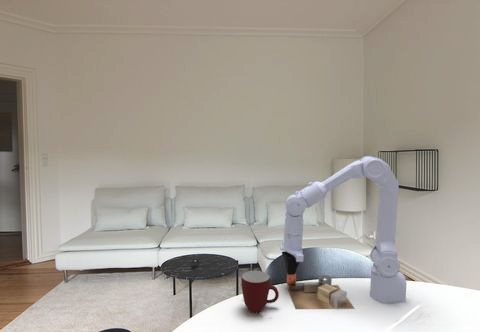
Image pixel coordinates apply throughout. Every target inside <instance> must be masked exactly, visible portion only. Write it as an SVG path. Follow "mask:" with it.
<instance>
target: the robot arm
mask: <svg viewBox="0 0 480 332" xmlns="http://www.w3.org/2000/svg"><path fill="white" fill-rule="evenodd" d="M364 177H366V179H369V180H370V181H372V182H373V183H374V184H375V185H376V186H377V187H378V188H379V193H378V194H379V195H378V207H377V209H378V210H377V224H376V225H377V227H376V239H374V242H373V247H372V249H371V251H370V254H369V257H370V259H371V262H372V263H373V264H372V266H371V268H370V286H369V287H370V288H369V297H370V298H371V299H372V300H374V301H375V302H379V303H381V304H395V303H406V301H407V300H406V298H407V280H406V276H405V274H404V273H403V272H402V271H400V269H401V263H400V262H399V259H398V250H397V247H396V230H397V229H396V228H397V215H398V214H397V213H398V200H399V198H398V197H399V181H398V180H397V178H396V176H395V174H394V173H393V171H392V169H391V166H390V165H389V164H388V163H386V162H385V161H384V160H383V159H381V158H379V157H373V156H371V155H365V156H363V157H361V158H360V159H357V160H355V161H353V162H351V163H349V164H348V165H346V166H345V167H343V168H342V169H340V170H339V171H337V172H336V173H334V174H333V175H331V176H330V177H328V178H327V179H325V180H324V181H322V182H321V181H314V182H313V181H310V182H308V185H307V186H305V187H304V188H303V189H300V190H299V191H298V190H296V191H295V194H291V195H289V196H288V197H287V199H286V201H285V210H286V212H285V219H284V226H283V227H284V228H283V229H284V230H283V239H282V245H279V250H280V251H281V254H282V257H283V260H284V263H285V264H284V265H285V270H286V275H287V274H288V275H289V274H295V273H296V274H297V270H298V267H299V264H300V263H304V257H305V256H304V254H303V231H304V212H305V210H306V209H307V208H308V209H309V208H311V207H313V206H314V205H315V204H318V203H319V202H322V200H324V199H326V198H327V196H328V192H329V191H331V190H333V189H335V188H337V187H339V186H340V185H342V184H344V183H346V182H348V181H349V180H351V179H359V180H361V179H364Z"/></svg>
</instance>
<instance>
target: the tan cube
mask: <svg viewBox="0 0 480 332" xmlns="http://www.w3.org/2000/svg"><path fill="white" fill-rule="evenodd" d="M335 292H337V288H335V287H332V286H330V285H328V284H325V285H322V286H320V287H318V299H319V300H321V301H323V302H325V303H328V304H330V303H331V294H333V293H335Z"/></svg>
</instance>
